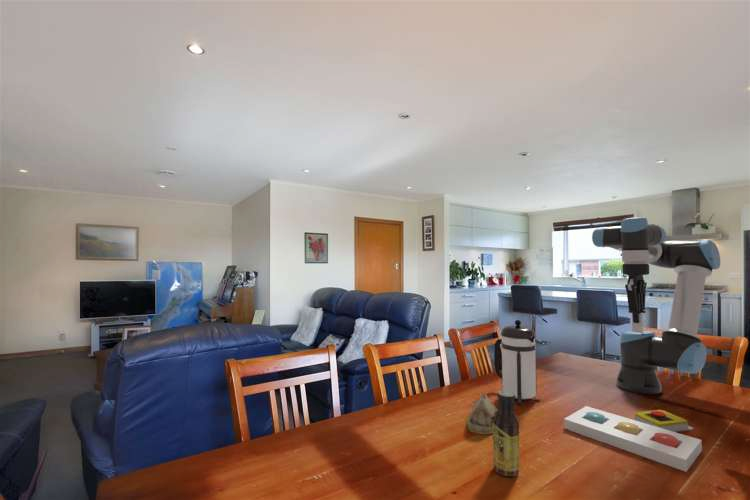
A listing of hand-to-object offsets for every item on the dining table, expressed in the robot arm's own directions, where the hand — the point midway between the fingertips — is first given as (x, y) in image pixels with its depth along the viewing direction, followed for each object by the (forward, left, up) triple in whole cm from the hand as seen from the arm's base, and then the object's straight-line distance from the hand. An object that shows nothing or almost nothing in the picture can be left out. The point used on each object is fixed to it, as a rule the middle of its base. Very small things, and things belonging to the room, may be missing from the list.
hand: (637, 332), depth 124 cm
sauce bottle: (+64, -10, -29) cm, 71 cm away
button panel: (+21, +3, -28) cm, 35 cm away
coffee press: (+17, -36, -29) cm, 49 cm away
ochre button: (+21, +3, -28) cm, 35 cm away
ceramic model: (+47, -29, -29) cm, 62 cm away
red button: (+21, +12, -28) cm, 37 cm away
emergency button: (+2, +6, -29) cm, 30 cm away
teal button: (+21, -6, -28) cm, 35 cm away
